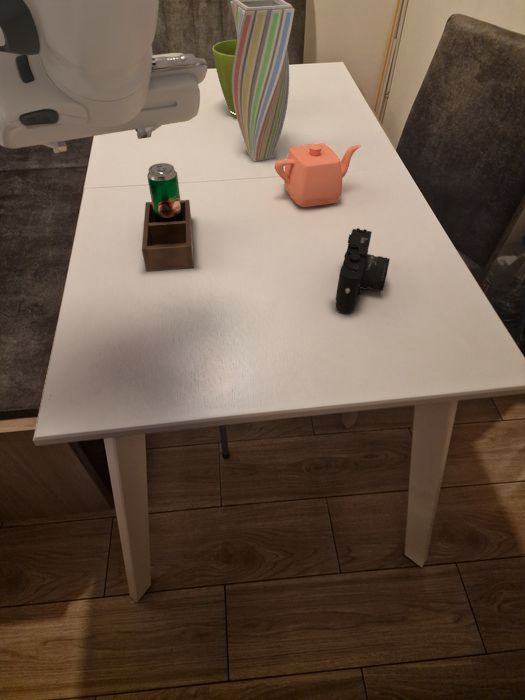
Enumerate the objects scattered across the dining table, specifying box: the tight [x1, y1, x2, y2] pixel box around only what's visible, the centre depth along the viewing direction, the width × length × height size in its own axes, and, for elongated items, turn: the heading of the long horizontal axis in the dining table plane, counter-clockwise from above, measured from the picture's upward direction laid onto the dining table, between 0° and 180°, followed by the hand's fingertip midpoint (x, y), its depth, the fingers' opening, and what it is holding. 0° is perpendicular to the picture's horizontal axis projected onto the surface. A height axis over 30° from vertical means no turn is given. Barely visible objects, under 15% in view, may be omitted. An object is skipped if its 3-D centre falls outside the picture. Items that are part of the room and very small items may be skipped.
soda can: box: [147, 162, 183, 223], centre depth 86 cm, size 5×5×12 cm
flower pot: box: [212, 39, 237, 119], centre depth 126 cm, size 15×15×16 cm
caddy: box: [141, 199, 195, 272], centre depth 87 cm, size 8×15×4 cm, turn 7°
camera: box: [335, 227, 390, 315], centre depth 77 cm, size 14×7×8 cm, turn 164°
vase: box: [230, 0, 295, 162], centre depth 104 cm, size 14×14×30 cm
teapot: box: [274, 142, 362, 208], centre depth 98 cm, size 12×18×10 cm, turn 106°
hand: (101, 138), depth 55 cm, fingers open, 8 cm apart
